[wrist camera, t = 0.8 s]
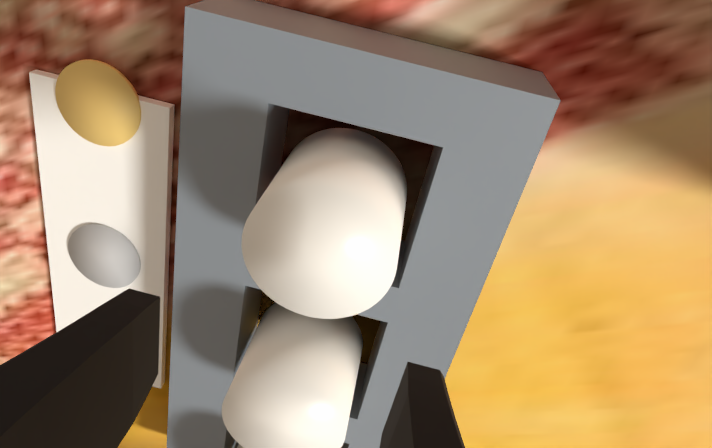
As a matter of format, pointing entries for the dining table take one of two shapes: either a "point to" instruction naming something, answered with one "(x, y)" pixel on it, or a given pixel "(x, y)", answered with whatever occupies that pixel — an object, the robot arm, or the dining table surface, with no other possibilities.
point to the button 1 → (329, 226)
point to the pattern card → (103, 189)
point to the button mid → (295, 382)
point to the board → (263, 161)
